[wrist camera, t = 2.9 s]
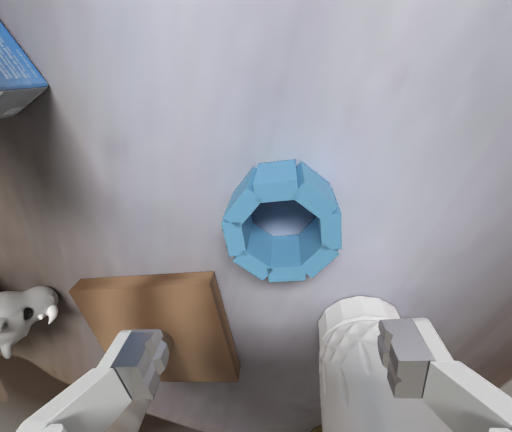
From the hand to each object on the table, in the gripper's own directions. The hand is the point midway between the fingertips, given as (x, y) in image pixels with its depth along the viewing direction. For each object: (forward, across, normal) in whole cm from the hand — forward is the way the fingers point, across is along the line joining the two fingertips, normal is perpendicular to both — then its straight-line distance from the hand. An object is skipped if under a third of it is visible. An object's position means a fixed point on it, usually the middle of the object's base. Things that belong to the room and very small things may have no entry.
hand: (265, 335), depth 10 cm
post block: (+10, +11, +11) cm, 19 cm away
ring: (+10, -1, 0) cm, 10 cm away
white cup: (+10, -6, +11) cm, 16 cm away
